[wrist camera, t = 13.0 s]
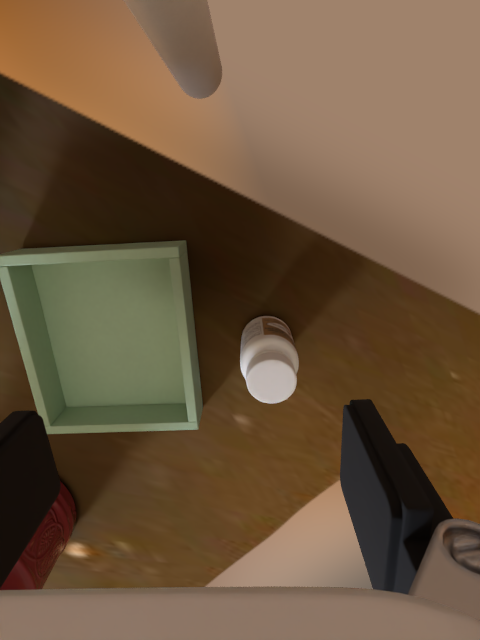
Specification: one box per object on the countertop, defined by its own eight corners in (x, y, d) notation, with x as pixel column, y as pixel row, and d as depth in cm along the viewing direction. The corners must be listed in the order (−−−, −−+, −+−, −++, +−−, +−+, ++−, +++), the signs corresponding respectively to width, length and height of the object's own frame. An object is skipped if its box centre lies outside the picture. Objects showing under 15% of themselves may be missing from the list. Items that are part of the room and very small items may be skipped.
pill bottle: (301, 338, 32) (317, 382, 24) (265, 369, 33) (270, 421, 26) (267, 304, 31) (272, 339, 23) (230, 337, 32) (225, 381, 25)
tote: (21, 248, 30) (-7, 255, 26) (186, 240, 29) (178, 246, 26) (62, 412, 35) (43, 434, 32) (203, 407, 34) (198, 429, 31)
